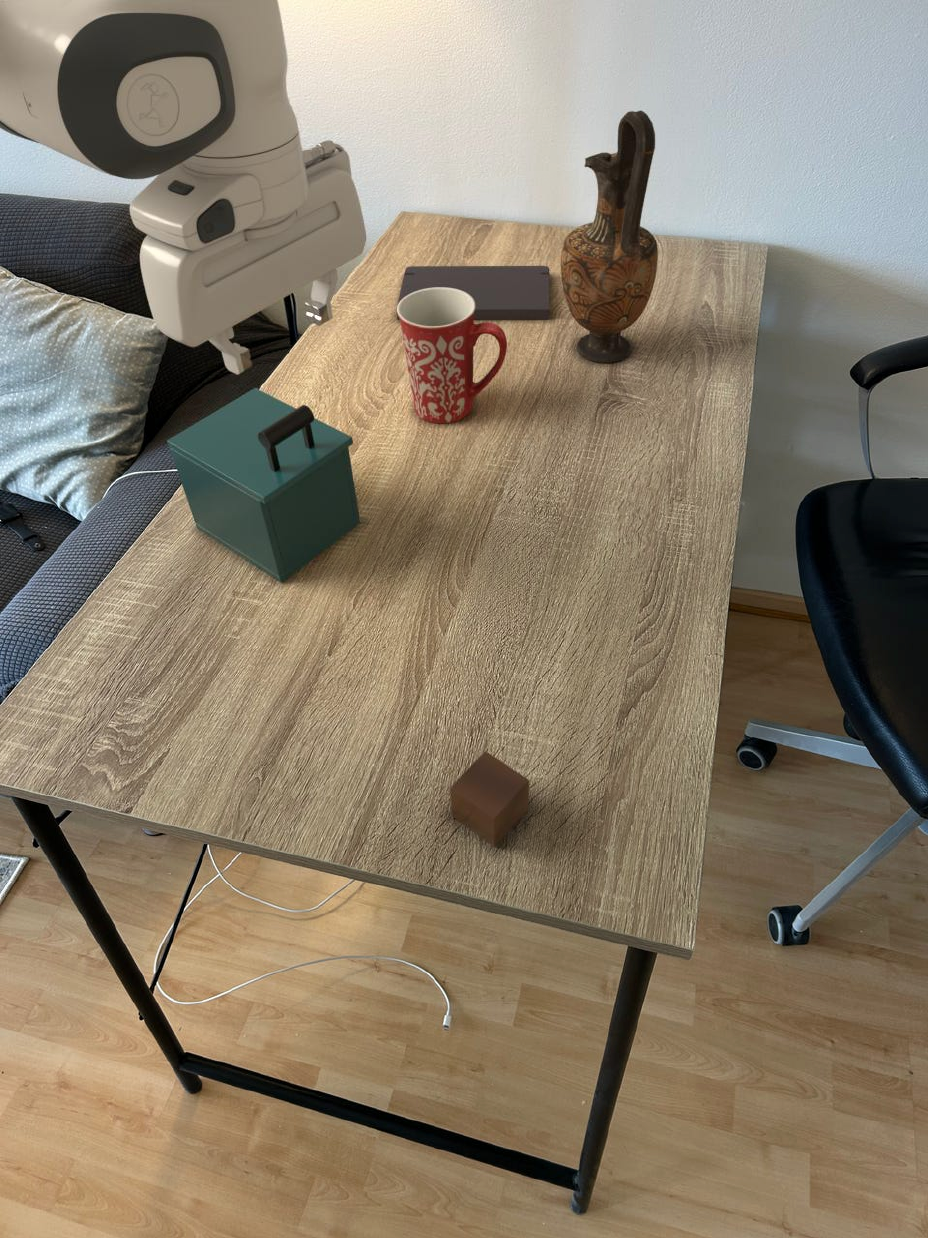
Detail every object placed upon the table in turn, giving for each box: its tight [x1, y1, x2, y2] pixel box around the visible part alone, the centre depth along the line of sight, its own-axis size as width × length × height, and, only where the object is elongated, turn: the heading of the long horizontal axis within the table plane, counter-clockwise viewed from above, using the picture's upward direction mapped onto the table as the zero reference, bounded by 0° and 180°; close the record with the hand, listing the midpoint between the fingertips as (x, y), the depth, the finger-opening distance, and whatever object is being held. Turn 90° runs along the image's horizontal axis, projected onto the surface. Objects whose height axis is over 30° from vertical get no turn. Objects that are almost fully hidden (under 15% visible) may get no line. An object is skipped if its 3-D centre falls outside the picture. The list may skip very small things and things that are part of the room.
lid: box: [166, 387, 354, 504], centre depth 87 cm, size 14×12×5 cm
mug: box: [396, 287, 508, 424], centre depth 106 cm, size 13×9×14 cm
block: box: [449, 750, 530, 848], centre depth 71 cm, size 4×4×4 cm
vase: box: [560, 109, 659, 364], centre depth 107 cm, size 12×12×30 cm
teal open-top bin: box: [169, 447, 361, 583], centre depth 93 cm, size 14×12×11 cm
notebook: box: [395, 265, 551, 320], centre depth 129 cm, size 13×2×21 cm
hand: (281, 344), depth 77 cm, fingers open, 8 cm apart
